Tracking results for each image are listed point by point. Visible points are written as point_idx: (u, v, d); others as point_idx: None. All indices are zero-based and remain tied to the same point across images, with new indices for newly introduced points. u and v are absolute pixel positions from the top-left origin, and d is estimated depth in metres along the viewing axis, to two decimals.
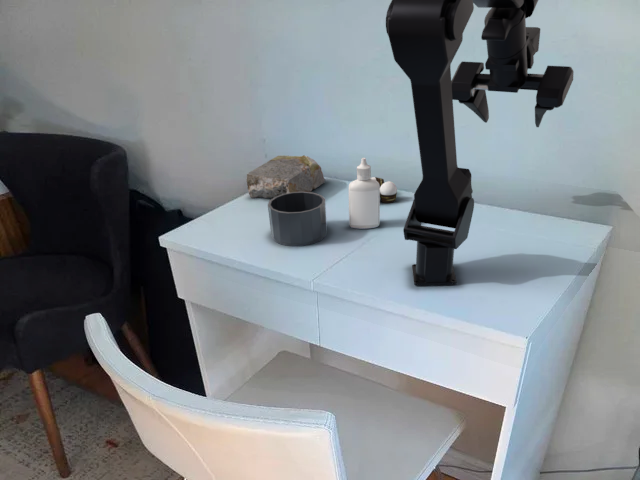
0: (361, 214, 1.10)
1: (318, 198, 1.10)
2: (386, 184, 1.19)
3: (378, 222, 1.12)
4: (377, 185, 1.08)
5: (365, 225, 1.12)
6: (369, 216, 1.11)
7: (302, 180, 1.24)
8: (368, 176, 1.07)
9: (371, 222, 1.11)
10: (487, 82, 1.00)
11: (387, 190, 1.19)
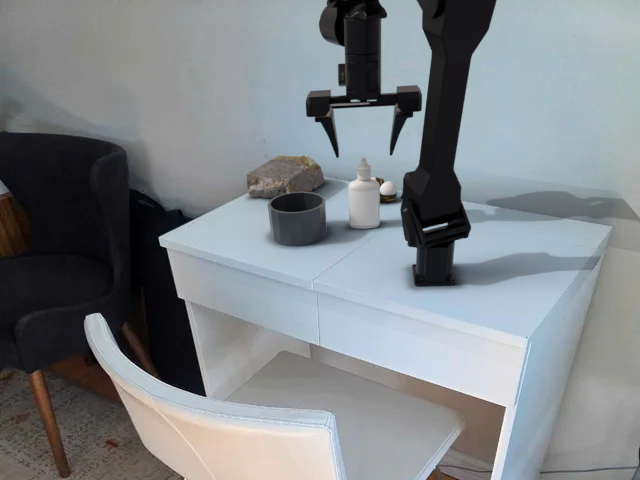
0: (361, 214, 1.10)
1: (318, 198, 1.10)
2: (386, 184, 1.19)
3: (378, 222, 1.12)
4: (377, 185, 1.08)
5: (365, 225, 1.12)
6: (369, 216, 1.11)
7: (302, 180, 1.24)
8: (368, 176, 1.07)
9: (371, 222, 1.11)
10: (342, 101, 0.99)
11: (387, 190, 1.19)
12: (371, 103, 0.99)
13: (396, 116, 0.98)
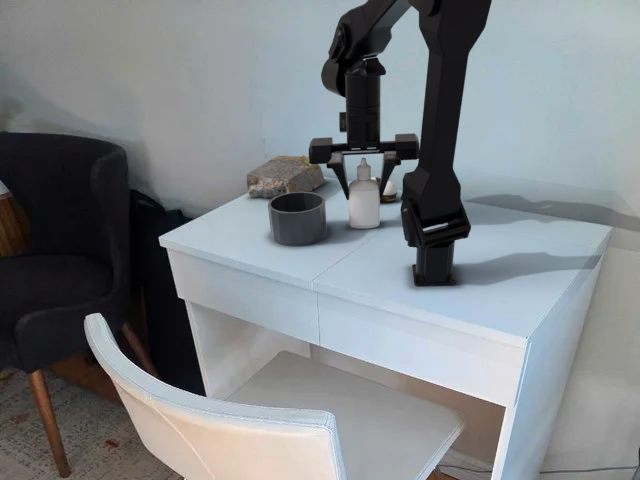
0: (361, 214, 1.10)
1: (318, 198, 1.10)
2: None
3: (378, 222, 1.12)
4: (377, 185, 1.08)
5: (365, 225, 1.12)
6: (369, 216, 1.11)
7: (302, 180, 1.24)
8: (368, 176, 1.07)
9: (371, 222, 1.11)
10: (343, 149, 1.04)
11: (387, 190, 1.19)
12: None
13: (385, 164, 1.03)
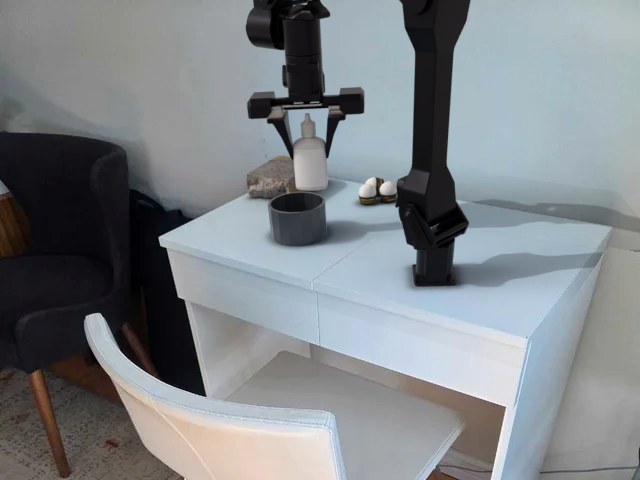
0: (307, 174, 1.04)
1: (318, 198, 1.10)
2: (386, 184, 1.19)
3: (326, 184, 1.06)
4: (322, 143, 1.01)
5: (312, 187, 1.05)
6: (316, 177, 1.04)
7: None
8: (312, 133, 1.01)
9: (318, 184, 1.05)
10: (285, 103, 0.98)
11: (387, 190, 1.19)
12: None
13: (328, 119, 0.97)
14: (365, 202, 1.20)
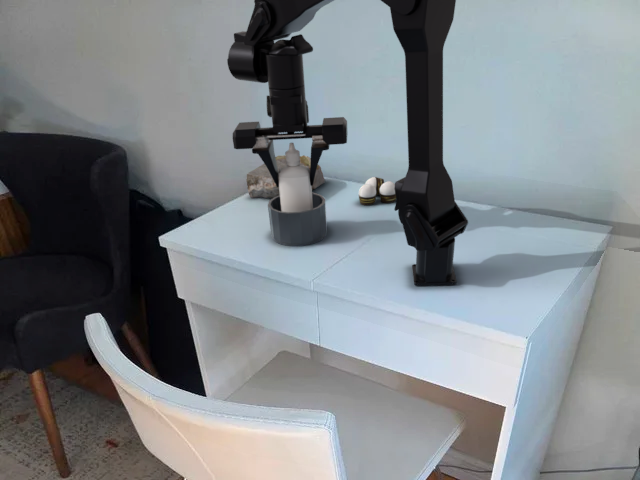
0: (292, 201, 1.06)
1: (318, 198, 1.10)
2: (386, 184, 1.19)
3: None
4: (307, 171, 1.04)
5: None
6: (301, 204, 1.07)
7: None
8: (297, 162, 1.03)
9: (303, 210, 1.07)
10: (269, 133, 1.00)
11: (387, 190, 1.19)
12: None
13: (312, 149, 0.99)
14: (365, 202, 1.20)
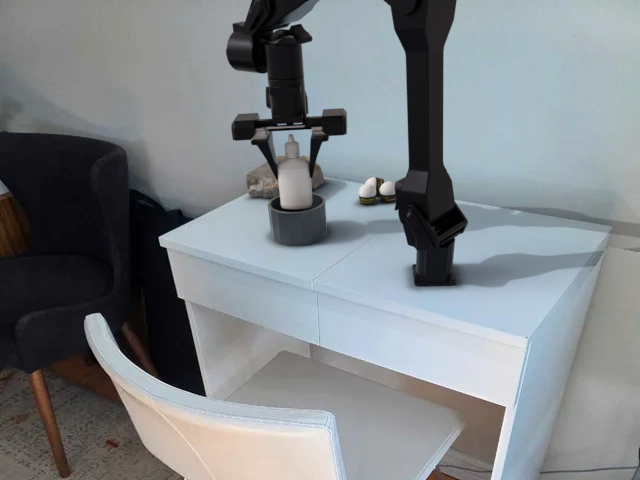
0: (292, 193, 1.06)
1: (318, 198, 1.10)
2: (386, 184, 1.19)
3: (310, 202, 1.07)
4: (306, 163, 1.03)
5: (296, 206, 1.07)
6: (300, 196, 1.06)
7: None
8: (296, 153, 1.02)
9: (302, 202, 1.07)
10: (268, 125, 1.00)
11: (387, 190, 1.19)
12: None
13: (311, 140, 0.98)
14: (365, 202, 1.20)
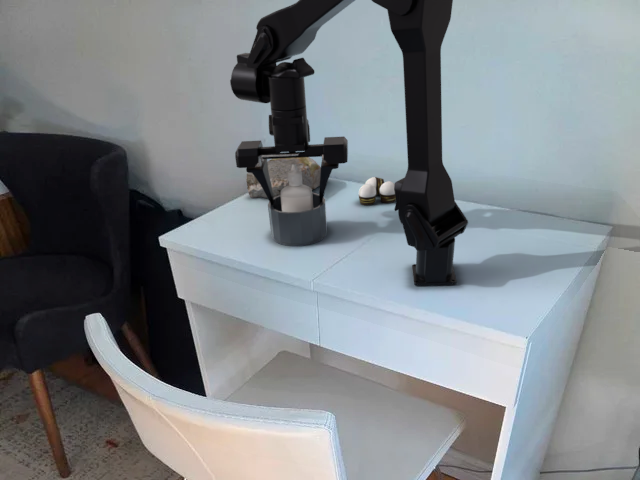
0: None
1: (318, 198, 1.10)
2: (386, 184, 1.19)
3: None
4: (309, 191, 1.06)
5: None
6: None
7: (302, 180, 1.24)
8: (299, 182, 1.05)
9: None
10: (271, 152, 1.02)
11: (387, 190, 1.19)
12: (298, 154, 1.02)
13: (321, 167, 1.01)
14: (365, 202, 1.20)
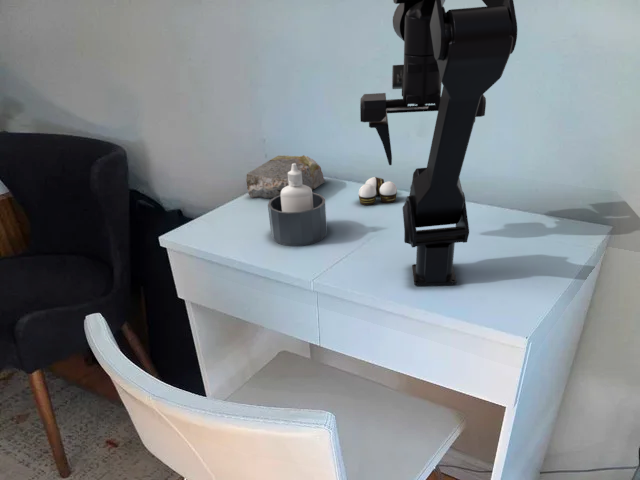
0: None
1: (318, 198, 1.10)
2: (386, 184, 1.19)
3: None
4: (309, 191, 1.06)
5: None
6: None
7: (302, 180, 1.24)
8: (299, 182, 1.05)
9: None
10: (398, 105, 0.93)
11: (387, 190, 1.19)
12: (429, 107, 0.93)
13: None
14: (365, 202, 1.20)
